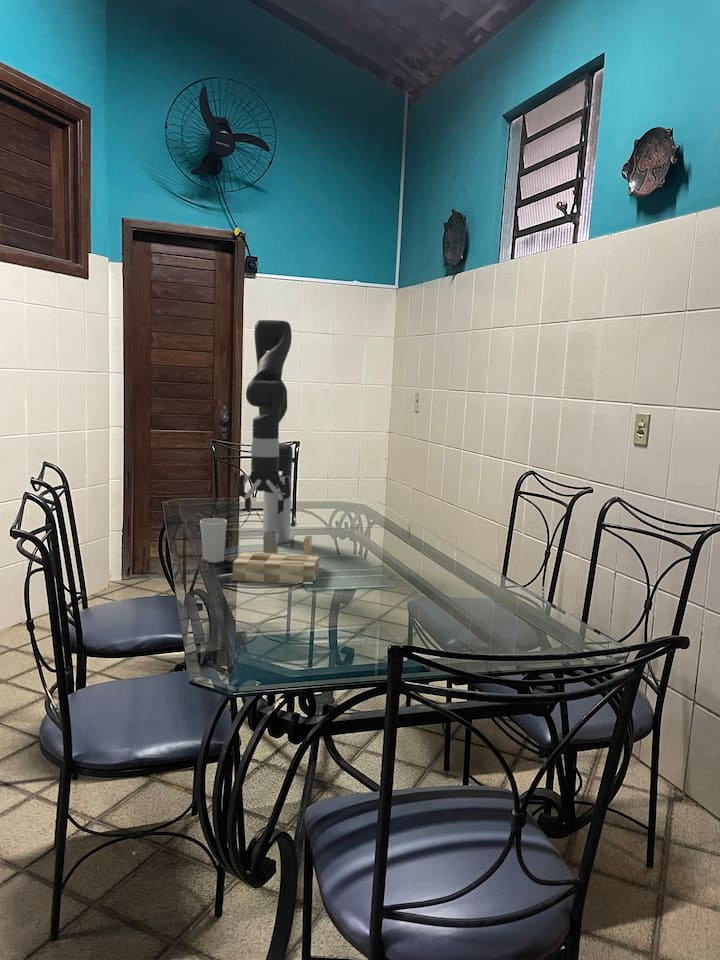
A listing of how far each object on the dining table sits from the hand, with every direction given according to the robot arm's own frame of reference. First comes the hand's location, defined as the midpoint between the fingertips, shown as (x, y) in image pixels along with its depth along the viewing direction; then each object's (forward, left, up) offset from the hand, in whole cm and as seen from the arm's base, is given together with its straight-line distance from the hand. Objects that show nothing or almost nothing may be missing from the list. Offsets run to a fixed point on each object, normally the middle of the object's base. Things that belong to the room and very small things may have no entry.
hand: (264, 512), depth 191 cm
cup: (-14, -18, -18) cm, 29 cm away
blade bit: (-11, +11, -18) cm, 24 cm away
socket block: (0, +4, -18) cm, 18 cm away
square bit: (-11, 0, -18) cm, 21 cm away
